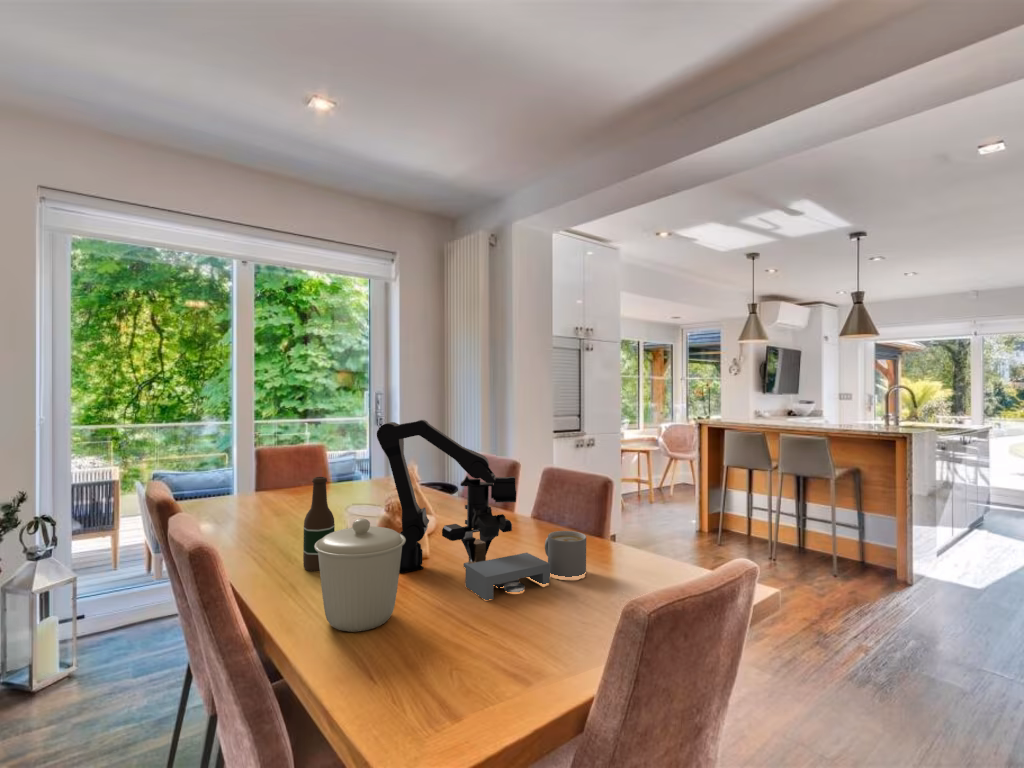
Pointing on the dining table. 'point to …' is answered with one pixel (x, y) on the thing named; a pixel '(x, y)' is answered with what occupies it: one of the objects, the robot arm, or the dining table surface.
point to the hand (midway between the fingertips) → (477, 560)
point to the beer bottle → (316, 524)
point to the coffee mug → (566, 553)
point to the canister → (359, 575)
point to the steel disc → (514, 587)
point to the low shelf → (504, 572)
